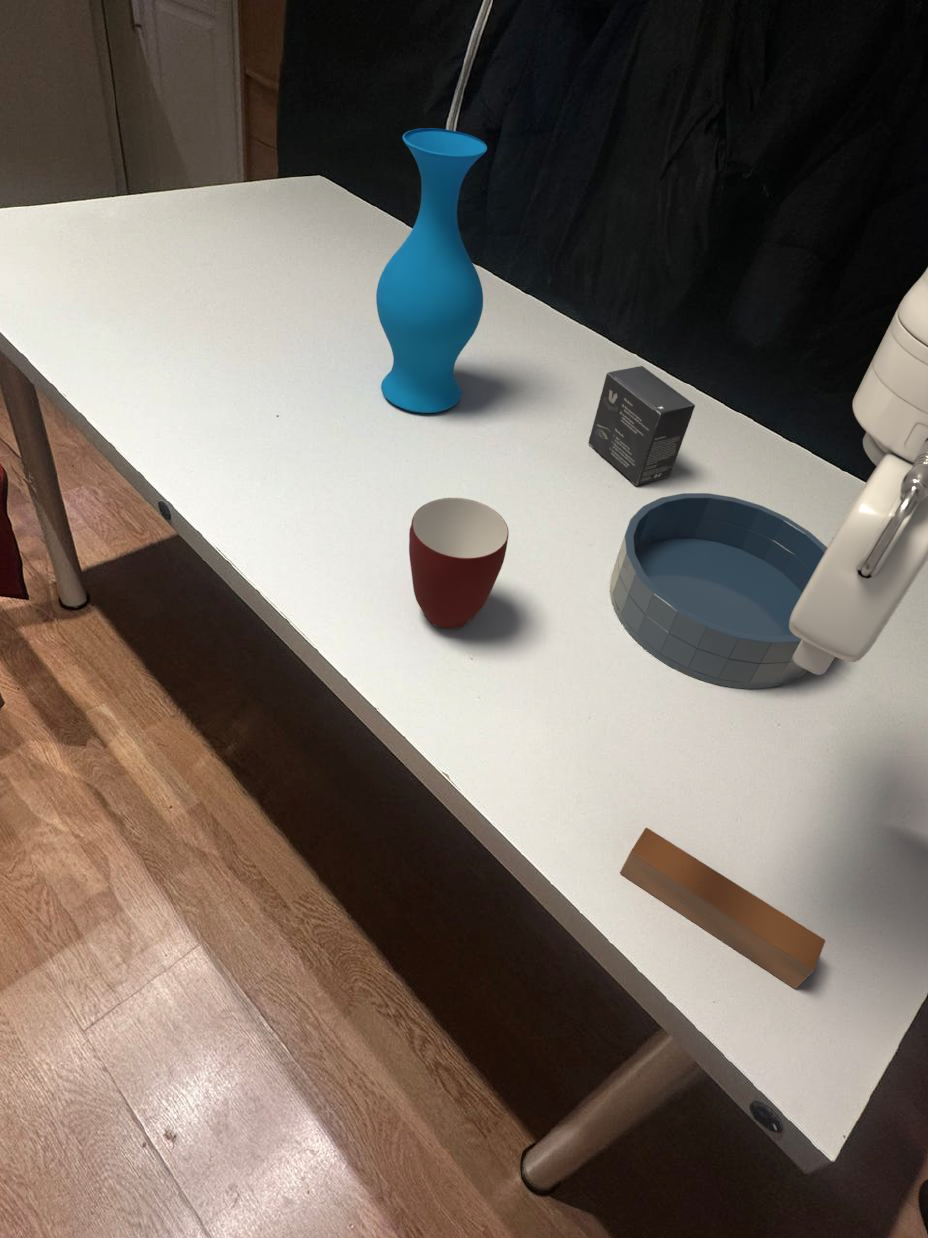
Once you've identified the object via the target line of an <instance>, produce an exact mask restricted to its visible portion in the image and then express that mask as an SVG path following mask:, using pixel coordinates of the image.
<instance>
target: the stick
mask: <svg viewBox="0 0 928 1238" xmlns="http://www.w3.org/2000/svg"><path fill="white" fill-rule="evenodd" d="M619 874H620V875H621V876H622V877H624V878H626V879H627V880H629V881H630V882H632V883H633V884H635V885H636V886H638V887H640V888H641V889H643V890H644V891H645V892H647V893H648V894H650V895H651V896H653V897H655V898H656V899H658V900H659V901H661V902H662V903H664V904H665V905H667V906H668V907H670V908H671V909H673V910H674V911H676V912H677V913H678V914H680V915H682V916H683V917H685V918H686V919H688V920H689V921H691V922H692V923H694V924H696V925H697V926H698V927H700V928H702V929H703V930H705V931H706V932H707V933H709V934H711V935H712V936H714V937H715V938H717V939H718V940H720V941H721V942H723V943H725V944H726V945H727V946H729V947H730V948H732V949H734V950H735V951H737V952H738V953H739V954H741V955H743V956H744V957H746V959H749V960H750V961H752V962H753V963H755V964H756V965H758V966H759V967H761V968H762V969H764V970H765V971H767V972H769V973H770V974H771V975H773V976H774V977H776V978H778V979H779V980H780V981H782V982H783V983H785V984H786V985H788V986H790V987H791V988H792V989H794V990H795V989H797V988H798V987H799V986H800V985H802V984H803V982H804V981H805V980H806V979H808V977H809V976H810V975H811V974H812V973H813V972H815V971H816V968H817V965H818V962H819V960H820V958H821V957H820V956H821V954H822V952H823V948H824V946H825V943H826V939H824V937H822V936H820V935H818V934H817V933H815V932H813V931H812V930H810V929H809V928H807V927H805V926H804V925H803V924H800V923H799V922H798V921H796V920H795V919H793V918H791V917H789V916H788V915H787V914H785V913H783V912H782V911H780V910H779V909H777V908H775V907H774V906H772V905H771V904H769V903H767V902H766V901H764V900H763V899H761V898H760V897H758V896H757V895H755V894H753V893H751V892H750V891H748V890H747V889H745V888H744V887H742V886H741V885H739V884H737V883H736V882H734V881H732V880H731V879H730V878H728V877H726V876H725V875H723V874H721V873H720V872H718V871H717V870H715V869H713V867H710V866H709V865H708V864H706V863H704V862H702V861H700V860H699V859H697V858H696V857H695V856H693V855H692V854H690V853H688V852H687V851H685V850H683V849H682V848H680V847H678V846H677V845H675V844H674V843H672V842H671V841H669V840H667V839H666V838H664V837H663V836H661V835H659V834H657V833H656V832H655V831H653V830H652V829H650V828H648V827H645V828H644V830H643V831H642V833H641V834H640V835H639V837H638V839H637V841H636V842H635V843H634V845H633V847H632V848H631V850H630V852H629V854H628V855H627V858H626V860H625V862H624V863H623V866H622V867H621V869H620V871H619Z"/></svg>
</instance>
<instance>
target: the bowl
mask: <svg viewBox="0 0 928 1238" xmlns="http://www.w3.org/2000/svg"><path fill="white" fill-rule="evenodd" d="M621 542H622V543H621V545H620V548H619V552H618V554H617V557H616V560H615V563H614V566H613V569H612V572H611V576H610V581H609V595H610V601H611V605H612V606H613V610H614V612H615V614H616V616H617V618H618V620H619V622H620V623H621V624H622V626H623V628H624V629H625V631H627V633H628V634H629V635H630V636H631V637H632V639H633V640H634V641H636V643H638V644H639V645H640V646H641V647H642V648H643V649H644V650H645V651H646V652H648V653H649V654H651V655H652V656H653V657H654V658H656V659H657V660H659V661H661V662H662V663H664V664H665V665H667V666H669V667H670V668H672V669H674V670H676V671H678V672H680V673H683V674H685V675H687V676H690V677H692V678H694V679H697V680H699V681H703V682H707V683H710V684H713V685H717V686H722V687H728V688H736V689H743V690H746V689H749V690H752V689H754V690H755V689H756V690H758V689H760V690H761V689H768V688H774V687H778V686H782V685H786V684H788V683H791V682H793V681H795V680H797V679H799V678H801V677H802V676H804V675H805V674H806V673H807V672H809V671H808V670H806V669H804V668H802V667H800V666H798V665H796V663H795V662H794V661H793V655H794V653H795V651H796V649H797V647H798V646H799V644H800V642H801V640H802V639H800V638H798V637H797V636H795V635H794V634H793V633H792V632H791V631H790V629H789V620H790V616H791V614H792V611H793V609H794V607H795V605H796V604H797V602H798V600H799V598H800V596H801V594H802V593H803V591H804V589H805V587H806V585H807V584H808V582H809V580H810V578H811V576H812V575H813V573H814V571H815V569H816V567H817V565H818V564H819V562H820V560H821V558H822V556H823V555H824V553H825V551H826V549H827V548H828V546H827V545H825V544H824V543H823V542H822V541H821V540H820V539H818V538H817V537H816V536H815V535H814V534H813V533H812V532H811V531H810V530H808V529H806V528H805V527H803V526H801V525H800V524H798V523H797V522H795V521H794V520H792V519H790V518H789V517H787V516H785V515H783V514H781V513H779V512H776V511H774V510H772V509H770V508H768V507H766V506H764V505H761V504H757V503H755V502H751V501H748V500H745V499H741V498H738V497H734V496H727V495H723V494H715V493H709V492H683V493H678V494H673V495H668V496H662V497H660V498H657V499H655V500H653V501H652V502H651V501H650V502H649V503H646V504H644V505H643V506H641V508H640V509H639V510H638V511H637V512H636V513H635V514H634V515H633V516H632V517H631V518H630V520H629V522H628V525H627V527H626V531H625V533H624V536H623V539H622V541H621Z"/></svg>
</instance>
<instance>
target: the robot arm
mask: <svg viewBox="0 0 928 1238" xmlns="http://www.w3.org/2000/svg"><path fill="white" fill-rule="evenodd" d="M852 411H853V414H854V417H855V419H856V421H857V422H858V423H859V425H860V426H861V428H862V429H863V430H864V431H865V434H864V436H863V438H862V446H863V450H864V452H865V454H866V455H867V458H869V459H870V461H871V462H872V463H873V465H874V466H876V467H875V468H874V470H873V471H872V472H871V474H870V475H869V478H868V479H867V480H866V482H865V483H864V485H863V486H862V488H861V489H860V491H859V493H858V494H857V496H856V497H855V499H854V501H853V503H852V504H851V505H850V507H849V509H848V510H847V512H846V514H845V516H844V518H843V519H842V521H841V523H840V524H839V526H838V528H837V529H836V531H835V533H834V535H833V537H832V538H831V541H830V542H829V544H828V546H827V549H826V551H825V553H824V555H823V556H822V558H821V560H820V562H819V564H818V565H817V567H816V569H815V571H814V573H813V575H812V576H811V578H810V580H809V582H808V584H807V585H806V587H805V589H804V591H803V593H802V594H801V596H800V598H799V600H798V602H797V604H796V605H795V607H794V609H793V611H792V614H791V616H790V620H789V629H790V631H791V632H792V633H793V634H794V635H795V636H797V637H798V638H800V639H802V640H801V642H800V644H799V646H798V647H797V649H796V651H795V653H794V655H793V661H794V662H795V663H796V665H798V666H800V667H802V668H804V669H806V670H808V671H807V672H810V673H812V674H814V675H817V676H819V675H824V674H825V673H826V672H827V670H828V669H829V667H830V666H831V664H832V663H833V661H834V659H835V658H838V659H840V660H842V661H846V662H849V663H855V662H858V661H860V660H862V659H863V657H865V656H866V655H867V654H868V653H869V651H870V650H871V649H872V647H873V646H874V645H875V643H876V642H877V640H878V638H879V637H880V635H881V634H882V633H883V631H884V629H885V627H886V626H887V625H888V623H889V622H890V620H891V619H892V617H893V615H894V614H895V613H896V610H897V609H898V608H899V606H900V604H902V601H903V600H904V598H905V597H906V595H907V594H908V592H909V590H910V589H911V587H912V585H913V584H914V583H915V581H916V579H917V577H918V576H919V574H920V573H921V571H922V570H923V568H924V567H925V564H926V563H927V561H928V267H927V268H926V269H925V271H924V272H923V273H922V275H921V276H920V277H919V278H918V280H917V281H916V282H915V283H914V284H913V285H912V286H911V288H910V289H909V290H908V291H907V292H906V294H905V295H904V296H903V298H902V300H901V301H900V303H899V304H898V307H897V309H896V311H895V313H894V315H893V317H892V319H891V322H890V324H889V325H888V328H887V329H886V331H885V333H884V336H883V338H882V340H881V342H880V344H879V346H878V348H877V350H876V352H875V354H874V355H873V358H872V359H871V362H870V364H869V366H868V368H867V370H866V372H865V374H864V376H863V378H862V380H861V382H860V384H859V386H858V389H857V391H856V392H855V394H854V397H853V399H852Z"/></svg>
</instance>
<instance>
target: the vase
mask: <svg viewBox="0 0 928 1238" xmlns="http://www.w3.org/2000/svg"><path fill="white" fill-rule="evenodd" d="M402 140H403V142H404V143H405V146H407V148H408V149H409V151H410V153H411V154H412V156H413V158H414V159H415V160H414V161H415V162H416V164H417V167H418V171H419V175H420V181H421V195H420V196H421V198H420V206H419V211H418V214H417V218H416V220H415V223H414V225H413V227H412V229H411V231H410V233H408V236H407V237H406V239H405V240H404V242H403V243H402V244H401V246H399V248H398V249H397V250H396V251H395V253H394V254H392V256H391V258H390V259H389V260H388V261H387V263H386V265H385V266H384V268H383V270H382V272H381V274H380V277H379V279H378V283H377V287H376V297H375V298H376V299H375V300H376V301H375V302H376V310H377V315H378V319H379V322H380V325H381V327H382V331H383V332H384V335H385V336H386V339H387V341H388V343H389V346H390V349H391V352H392V358H393V362H392V367H391V370H390V371H389V372H388V373H387V374H386V375H385V376H384V378H383V379H382V381H381V384H380V390H381V392H382V395H383V396H384V397H385V398H386V400H387V401H389V402H391V404H393V405H394V406H396V407H398V408H400V409H403V410H405V411H409V412H413V413H420V414H434V413H440V412H444V411H446V410H448V409H449V410H450V408H453V407H454V406H455V405H457V404H458V402H459V401H460V400H461V397H462V390H461V387H460V385H459V383H458V381H457V380H456V378H455V373H454V372H455V366H456V365H455V364H456V363H457V360H458V358H459V356H460V354H461V353H462V351H463V350H464V348H466V346H467V344H468V343H469V341H470V340H471V338H472V337H473V335H474V334H475V332H476V330H477V329H478V326H479V323H480V320H481V317H482V313H483V310H484V309H483V308H484V292H483V286H482V283H481V282H482V281H481V279H480V276H479V274H478V272H477V269H476V267H475V265H474V263H473V261H472V260H471V258H470V255H469V254H468V252H467V250H466V247H465V244H464V242H463V240H462V236H461V233H460V229H459V223H458V203H459V196H460V191H461V187H462V184H463V182H464V179H465V177H466V176H467V173H468V172H469V170H470V168H472V166H473V165H474V164H475V162H477V161H478V160H479V159H480V158H481V157H482V156H483V155H484V154H485V153H486V152H487V150H488V146H487V145H486V143H485V142H484V141H482V139H479V138H478V137H475V136H473V135H472V134H471V135H470V134H468V133H464V132H460V131H456V130H451V129H445V128H432V127H428V128H427V127H426V128H425V127H424V128H416V129H411V130H408V131H406V132H405V133H403V135H402Z"/></svg>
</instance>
